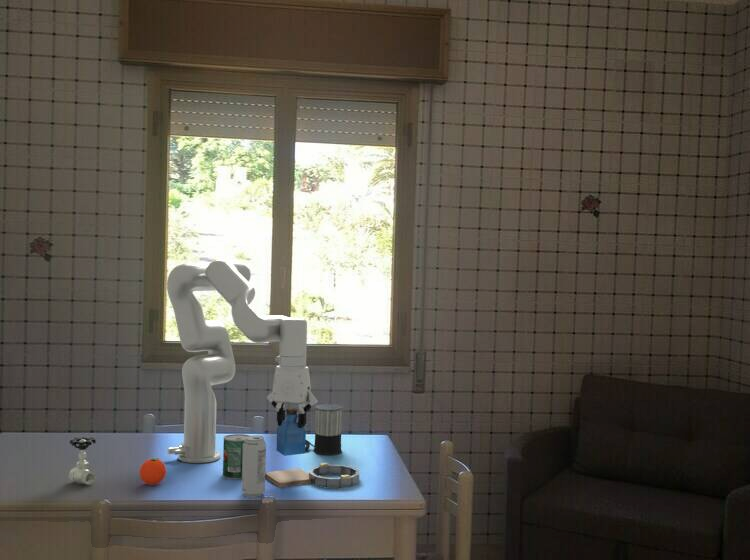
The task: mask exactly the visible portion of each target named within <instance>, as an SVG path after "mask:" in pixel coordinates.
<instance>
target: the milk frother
mask: <svg viewBox="0 0 750 560" xmlns="http://www.w3.org/2000/svg"><path fill="white" fill-rule="evenodd" d="M314 408H315V419H314V420H315V422H314V423H315V424H314V426H315V427H314V429H315V431H314V444H313V443H312V442H311V441H309V440H308V439H306V446H305V452H307V451H309V449H310V448H311V447H313V450H312V451H313V452H314V453H315V454H317V455H322V456H333V455H334V456H335V455H339V454H341V453H342V452H343V450H342V425H343V409H344V406H342V405H339V404H334V403H322V404H315V405H314Z"/></svg>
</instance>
